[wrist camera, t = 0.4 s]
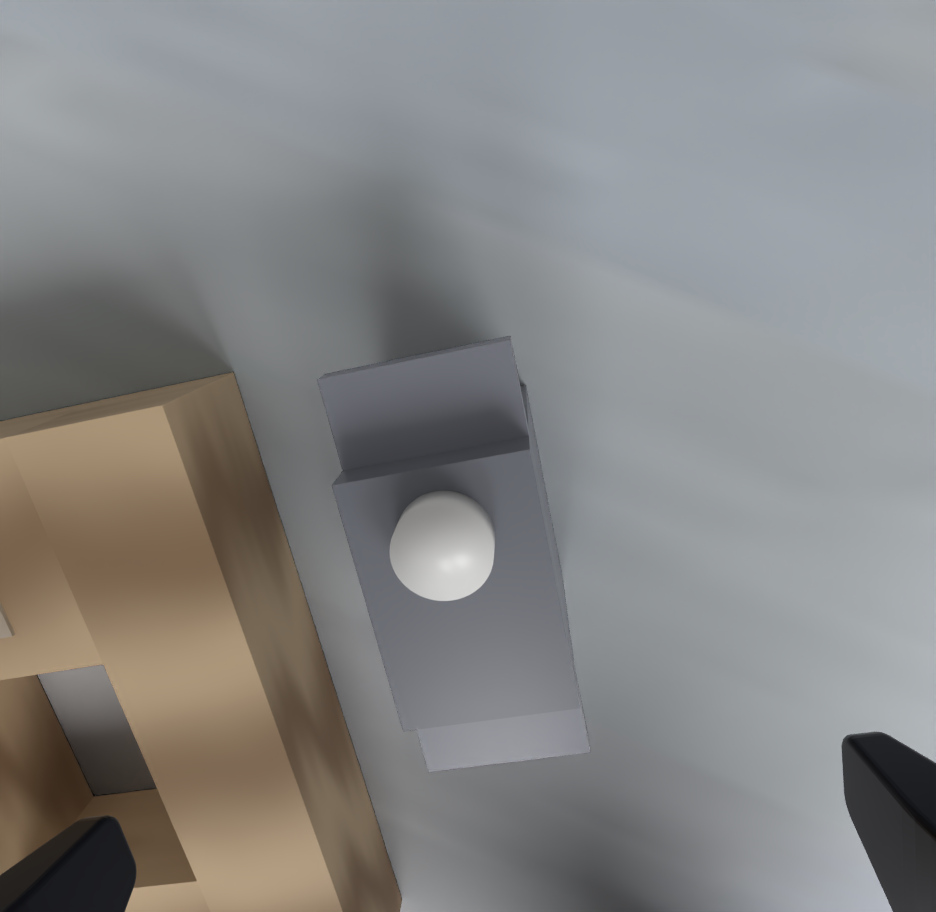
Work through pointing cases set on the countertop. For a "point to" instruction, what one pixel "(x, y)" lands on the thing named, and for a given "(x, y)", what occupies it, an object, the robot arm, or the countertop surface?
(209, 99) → the countertop surface
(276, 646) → the chassis board
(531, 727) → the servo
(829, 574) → the countertop surface
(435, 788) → the countertop surface
